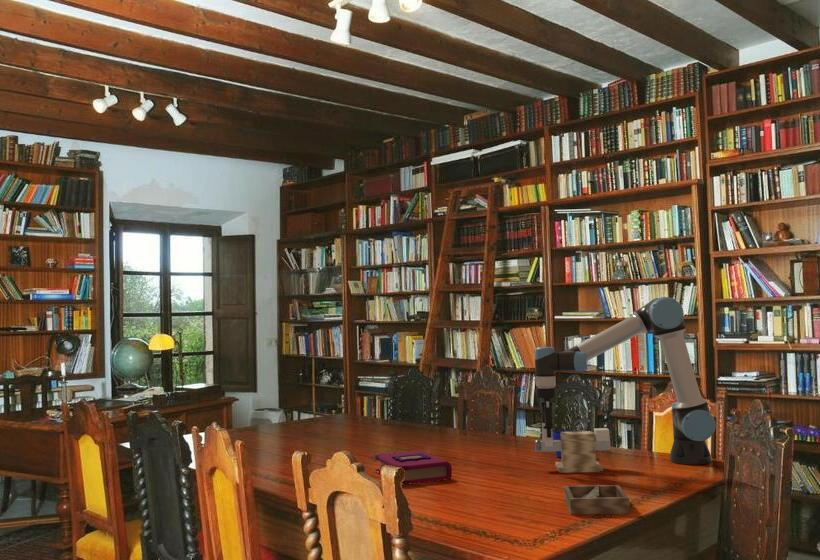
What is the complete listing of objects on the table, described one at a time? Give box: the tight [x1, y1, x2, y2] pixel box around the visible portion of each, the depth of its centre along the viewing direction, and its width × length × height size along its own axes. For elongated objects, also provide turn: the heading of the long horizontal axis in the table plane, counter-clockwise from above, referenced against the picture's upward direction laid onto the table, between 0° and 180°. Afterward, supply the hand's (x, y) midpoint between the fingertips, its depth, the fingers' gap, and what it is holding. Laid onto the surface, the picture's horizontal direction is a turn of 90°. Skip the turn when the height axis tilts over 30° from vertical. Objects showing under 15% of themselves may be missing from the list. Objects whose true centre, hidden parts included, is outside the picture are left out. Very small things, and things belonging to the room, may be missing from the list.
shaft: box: [534, 439, 612, 453], centre depth 283 cm, size 28×4×4 cm, turn 84°
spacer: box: [593, 427, 611, 442], centre depth 283 cm, size 5×5×4 cm
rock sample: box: [582, 483, 602, 498], centre depth 228 cm, size 10×8×9 cm
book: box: [374, 449, 453, 486], centre depth 282 cm, size 21×28×8 cm
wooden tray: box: [563, 484, 631, 515], centre depth 226 cm, size 17×17×4 cm
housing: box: [555, 430, 604, 474], centre depth 283 cm, size 16×14×13 cm
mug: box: [552, 430, 572, 459], centre depth 307 cm, size 8×12×10 cm
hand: (547, 443), depth 284 cm, fingers open, 13 cm apart
